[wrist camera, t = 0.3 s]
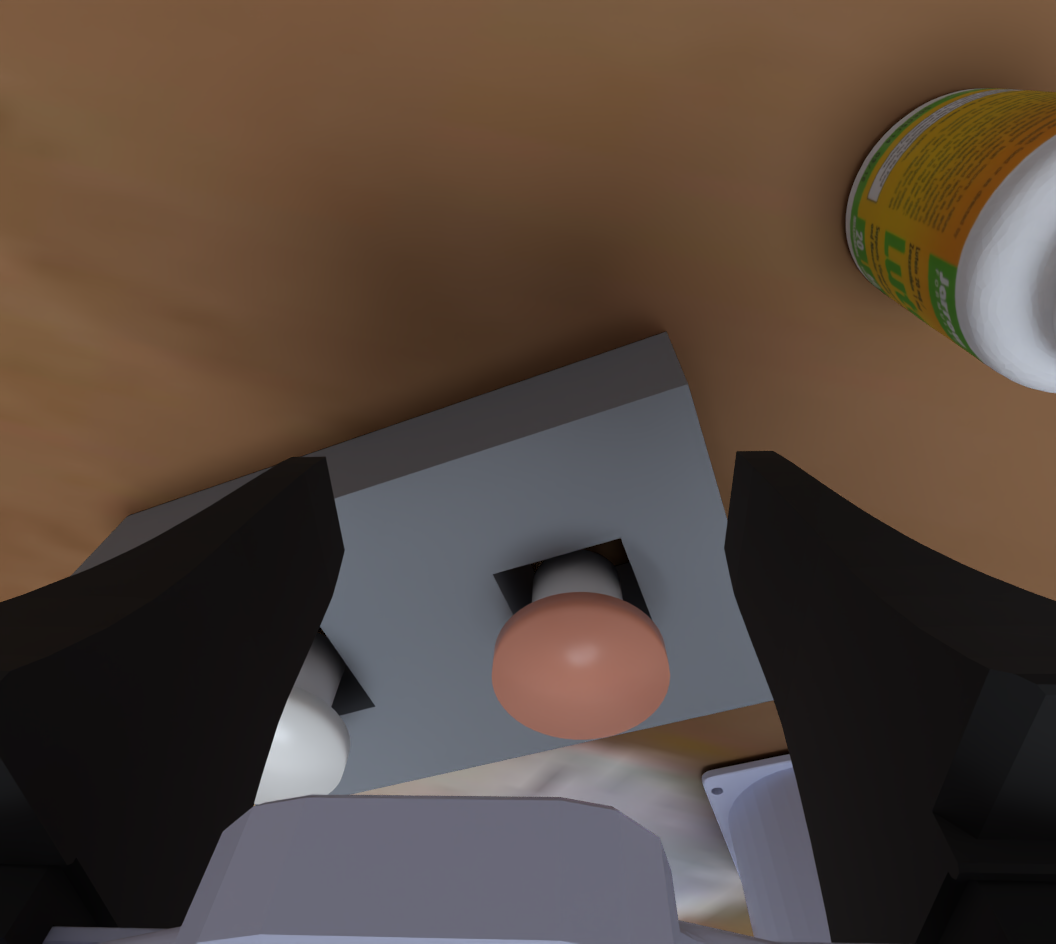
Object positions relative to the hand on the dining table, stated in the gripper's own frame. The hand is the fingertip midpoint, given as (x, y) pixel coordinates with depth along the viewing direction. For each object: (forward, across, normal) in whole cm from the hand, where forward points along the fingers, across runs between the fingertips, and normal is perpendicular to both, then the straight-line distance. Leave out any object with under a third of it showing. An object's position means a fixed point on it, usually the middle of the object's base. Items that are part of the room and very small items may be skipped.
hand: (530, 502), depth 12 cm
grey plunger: (+7, +8, +11) cm, 16 cm away
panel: (+10, +4, +9) cm, 14 cm away
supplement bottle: (+10, -11, -3) cm, 15 cm away
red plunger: (+7, -1, +8) cm, 11 cm away
